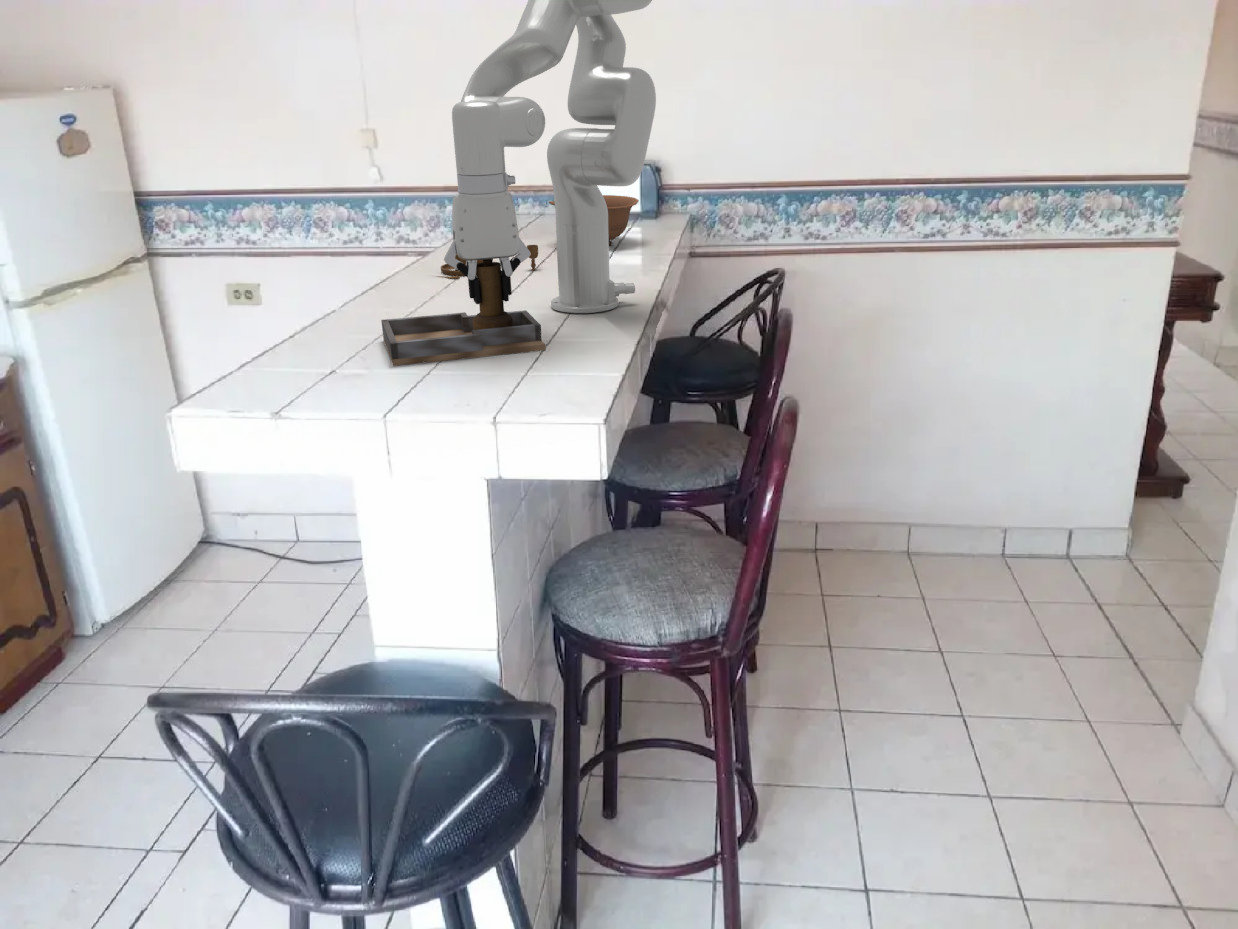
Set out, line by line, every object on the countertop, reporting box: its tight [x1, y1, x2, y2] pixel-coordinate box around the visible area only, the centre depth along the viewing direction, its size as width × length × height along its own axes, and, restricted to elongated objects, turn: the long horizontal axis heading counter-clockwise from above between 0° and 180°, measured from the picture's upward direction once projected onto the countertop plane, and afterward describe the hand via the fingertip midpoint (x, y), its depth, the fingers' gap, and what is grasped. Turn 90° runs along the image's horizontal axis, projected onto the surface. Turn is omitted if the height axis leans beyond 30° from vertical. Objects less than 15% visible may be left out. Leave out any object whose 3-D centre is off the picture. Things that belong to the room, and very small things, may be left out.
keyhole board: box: [380, 310, 546, 367], centre depth 165 cm, size 24×16×4 cm, turn 107°
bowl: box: [548, 194, 639, 247], centre depth 249 cm, size 22×22×11 cm
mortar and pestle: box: [473, 259, 513, 330], centre depth 163 cm, size 7×6×18 cm
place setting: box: [436, 244, 539, 280], centre depth 221 cm, size 18×20×6 cm
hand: (490, 299), depth 165 cm, fingers closed on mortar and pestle, 4 cm apart
